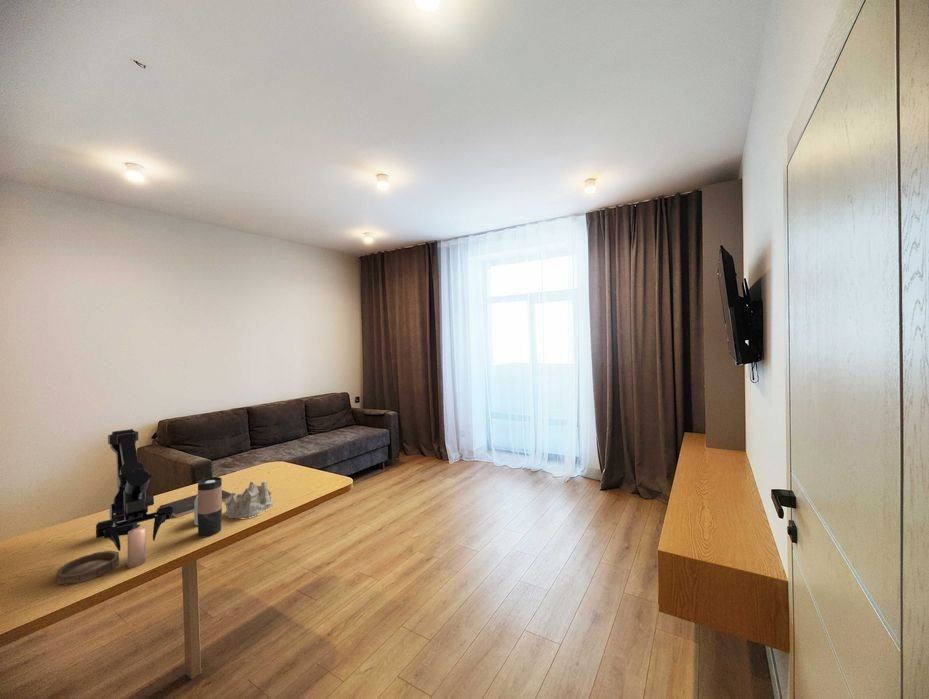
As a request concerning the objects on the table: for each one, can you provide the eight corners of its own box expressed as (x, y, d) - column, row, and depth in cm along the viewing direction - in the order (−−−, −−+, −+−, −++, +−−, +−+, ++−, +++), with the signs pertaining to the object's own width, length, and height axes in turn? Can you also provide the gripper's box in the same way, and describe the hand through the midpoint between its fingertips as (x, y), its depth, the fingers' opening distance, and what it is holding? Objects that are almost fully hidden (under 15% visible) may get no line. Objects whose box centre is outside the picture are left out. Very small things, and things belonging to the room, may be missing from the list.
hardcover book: (234, 499, 167) (234, 494, 167) (175, 519, 147) (175, 513, 147) (217, 492, 175) (217, 487, 175) (159, 510, 155) (159, 505, 155)
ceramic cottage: (279, 505, 159) (276, 472, 159) (244, 523, 144) (241, 487, 143) (256, 502, 165) (253, 470, 165) (219, 518, 150) (217, 484, 150)
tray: (128, 555, 120) (128, 548, 120) (100, 580, 107) (100, 572, 107) (79, 561, 117) (79, 554, 117) (43, 588, 104) (43, 579, 104)
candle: (148, 558, 118) (148, 526, 118) (140, 566, 114) (140, 532, 114) (132, 560, 117) (133, 528, 117) (124, 568, 113) (124, 534, 113)
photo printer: (205, 514, 150) (205, 485, 150) (217, 513, 151) (217, 485, 151) (192, 526, 140) (192, 495, 140) (204, 525, 141) (204, 494, 141)
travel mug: (226, 527, 140) (226, 476, 140) (213, 537, 132) (213, 484, 132) (206, 527, 140) (206, 477, 140) (192, 537, 132) (192, 484, 132)
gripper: (96, 497, 112) (95, 545, 104) (172, 482, 125) (176, 523, 117) (96, 514, 117) (95, 561, 110) (169, 497, 131) (173, 538, 123)
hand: (137, 545), depth 115 cm, fingers open, 8 cm apart
